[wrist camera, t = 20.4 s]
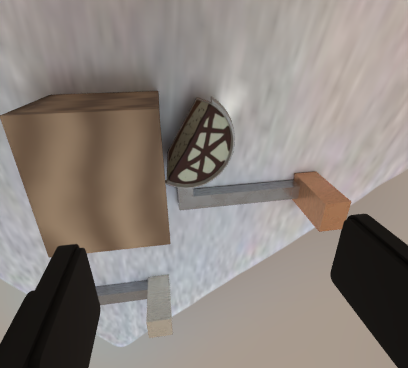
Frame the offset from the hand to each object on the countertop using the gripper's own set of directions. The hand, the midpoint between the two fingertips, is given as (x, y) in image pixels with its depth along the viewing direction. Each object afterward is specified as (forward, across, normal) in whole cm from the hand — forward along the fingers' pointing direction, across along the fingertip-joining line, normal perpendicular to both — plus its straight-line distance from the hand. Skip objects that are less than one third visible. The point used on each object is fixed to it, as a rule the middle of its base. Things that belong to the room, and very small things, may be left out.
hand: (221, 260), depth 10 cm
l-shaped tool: (+33, +12, +35) cm, 50 cm away
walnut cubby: (+33, +9, +7) cm, 35 cm away
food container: (+34, -4, +5) cm, 34 cm away
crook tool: (+33, -12, +12) cm, 37 cm away
